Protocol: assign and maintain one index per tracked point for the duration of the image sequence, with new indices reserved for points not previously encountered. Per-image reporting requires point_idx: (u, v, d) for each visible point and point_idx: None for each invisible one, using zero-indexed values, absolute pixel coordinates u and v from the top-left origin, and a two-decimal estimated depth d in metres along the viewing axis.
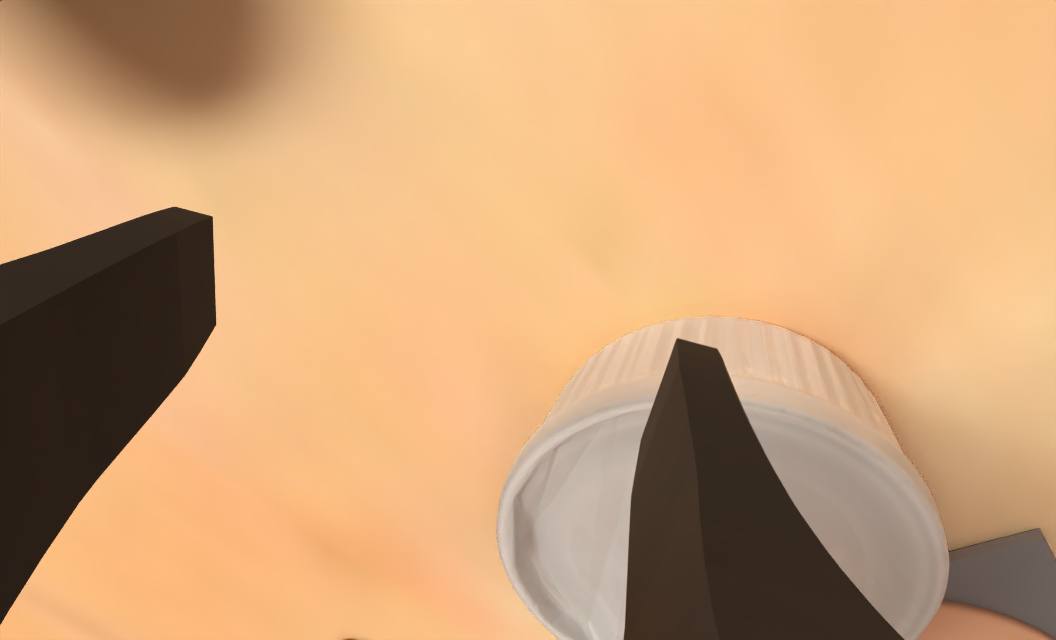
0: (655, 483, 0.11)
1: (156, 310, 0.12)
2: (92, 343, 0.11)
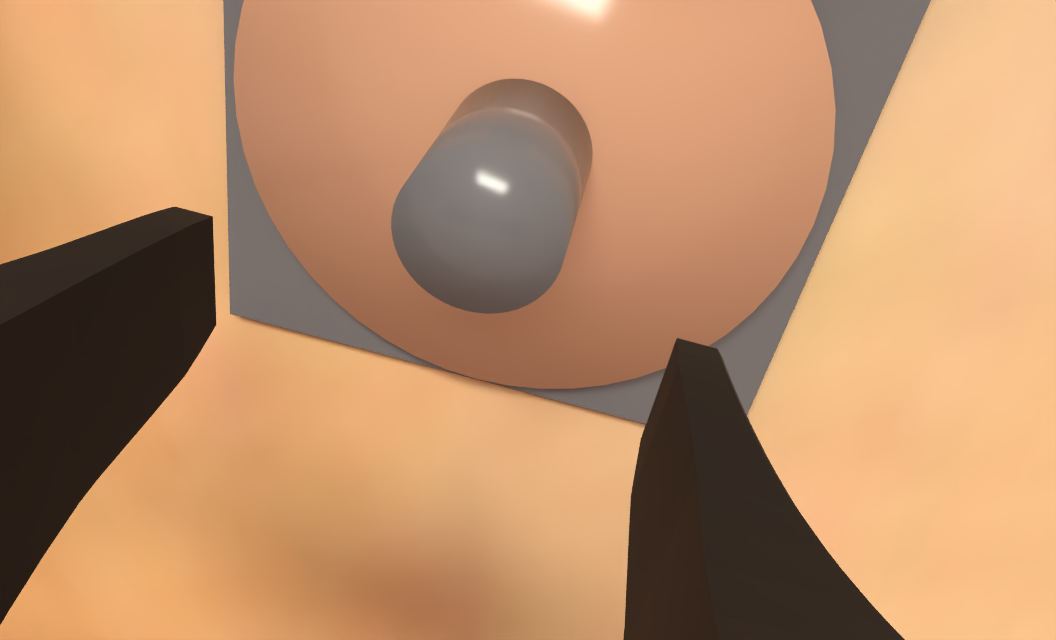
0: (655, 483, 0.11)
1: (156, 310, 0.12)
2: (92, 343, 0.11)
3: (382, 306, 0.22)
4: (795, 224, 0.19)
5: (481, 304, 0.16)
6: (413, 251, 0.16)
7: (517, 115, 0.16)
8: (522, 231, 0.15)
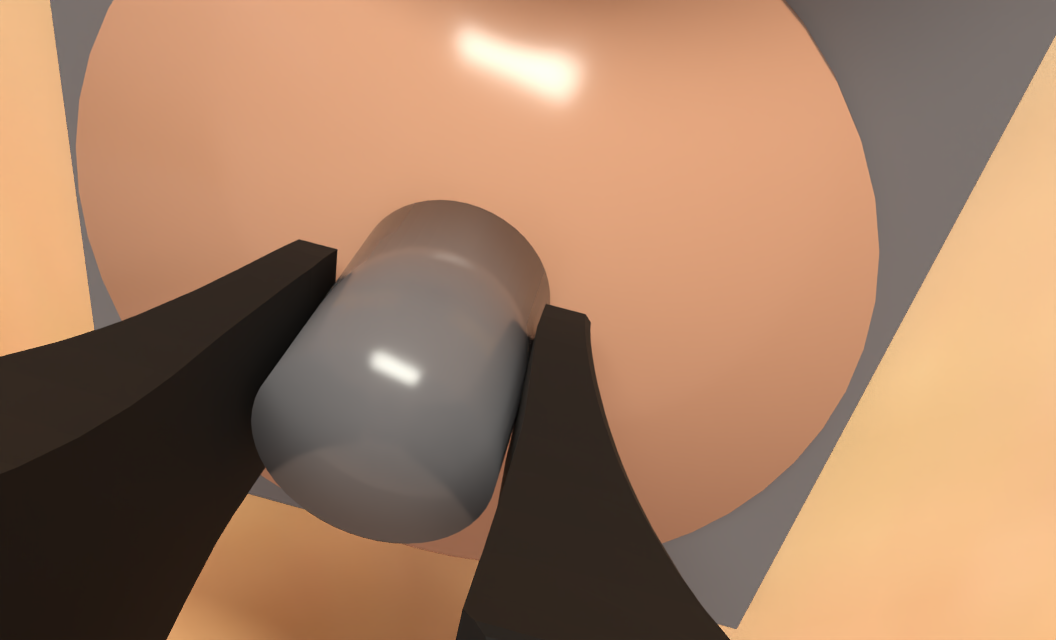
0: (512, 445, 0.11)
1: None
2: (240, 383, 0.11)
3: None
4: (820, 389, 0.14)
5: (385, 531, 0.12)
6: (286, 464, 0.11)
7: (436, 267, 0.12)
8: (434, 448, 0.11)
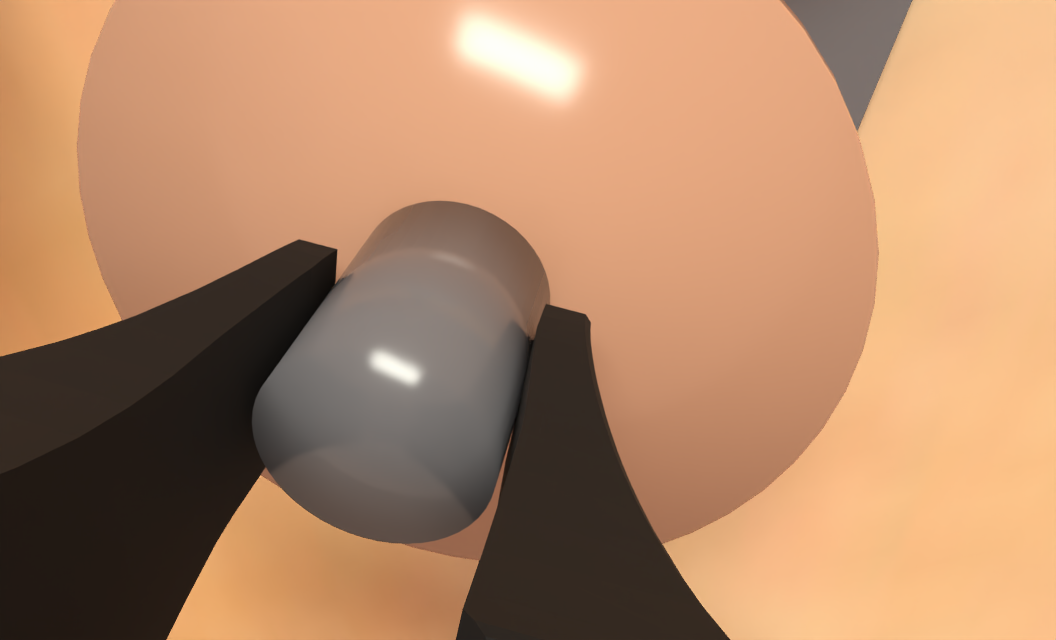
0: (513, 444, 0.11)
1: (289, 346, 0.12)
2: (240, 383, 0.11)
3: None
4: (820, 389, 0.14)
5: (385, 532, 0.12)
6: (286, 464, 0.11)
7: (436, 268, 0.12)
8: (435, 449, 0.11)
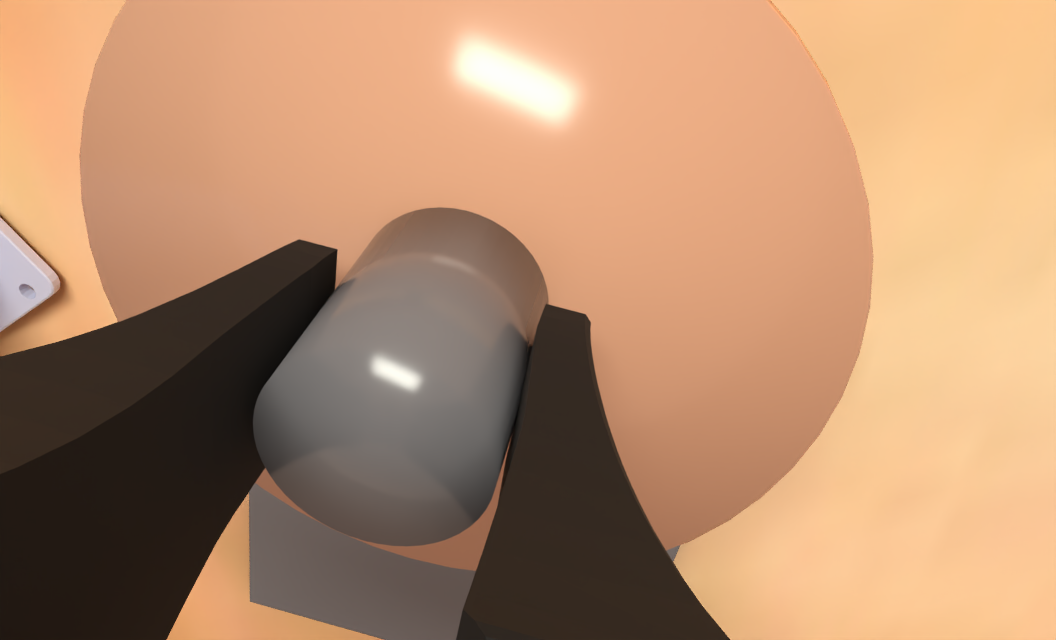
0: (512, 444, 0.11)
1: (289, 346, 0.12)
2: (240, 383, 0.11)
3: None
4: (817, 394, 0.14)
5: (385, 534, 0.12)
6: (287, 466, 0.11)
7: (436, 271, 0.12)
8: (435, 449, 0.11)
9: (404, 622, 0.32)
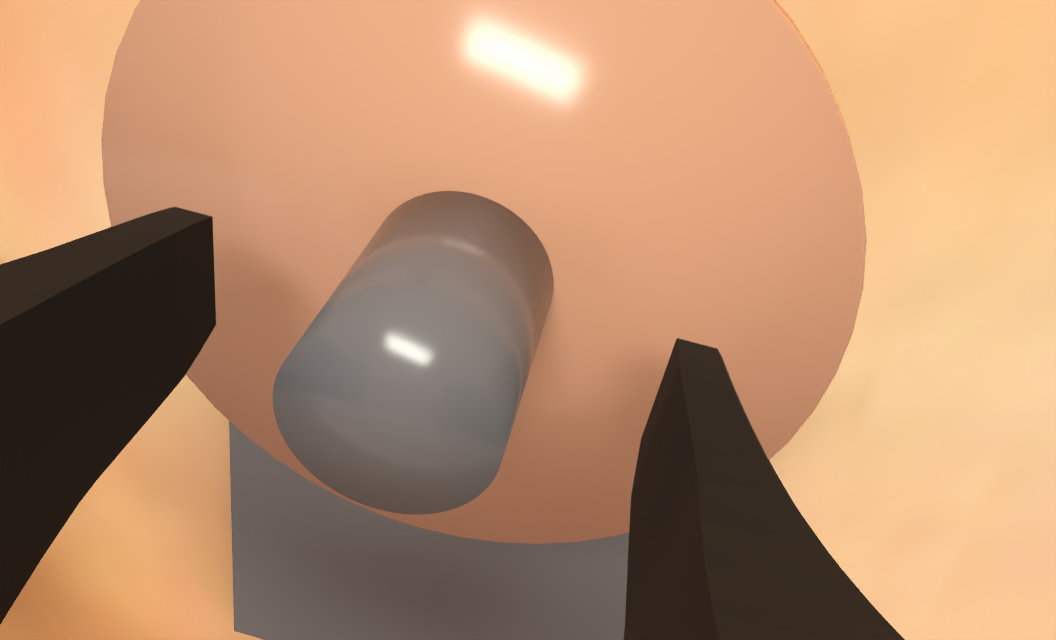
0: (655, 483, 0.11)
1: (156, 310, 0.12)
2: (92, 343, 0.11)
3: None
4: (811, 371, 0.15)
5: (398, 503, 0.12)
6: (305, 438, 0.12)
7: (446, 253, 0.12)
8: (445, 422, 0.11)
9: None
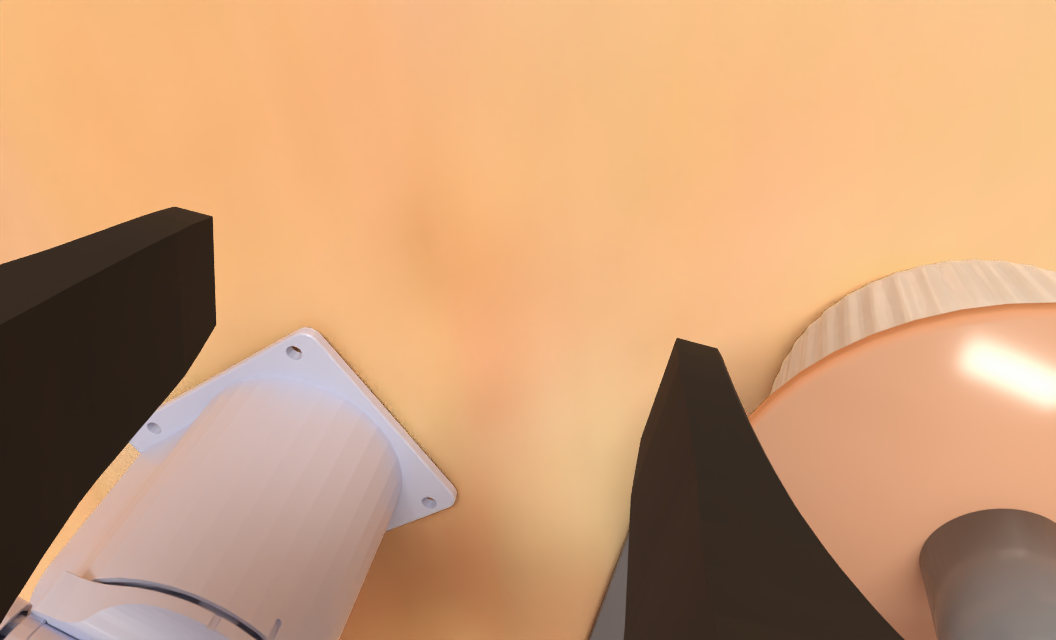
0: (655, 483, 0.11)
1: (156, 310, 0.12)
2: (92, 343, 0.11)
3: None
4: None
5: None
6: None
7: None
8: None
9: None
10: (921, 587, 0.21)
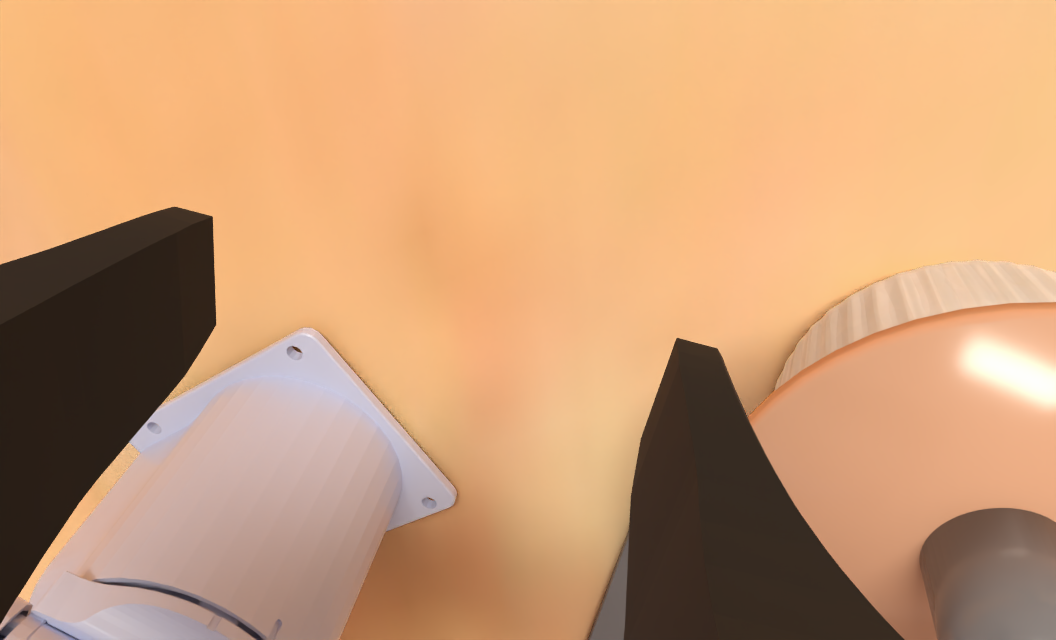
0: (655, 483, 0.11)
1: (156, 310, 0.12)
2: (92, 343, 0.11)
3: None
4: None
5: None
6: None
7: None
8: None
9: None
10: (921, 586, 0.21)
